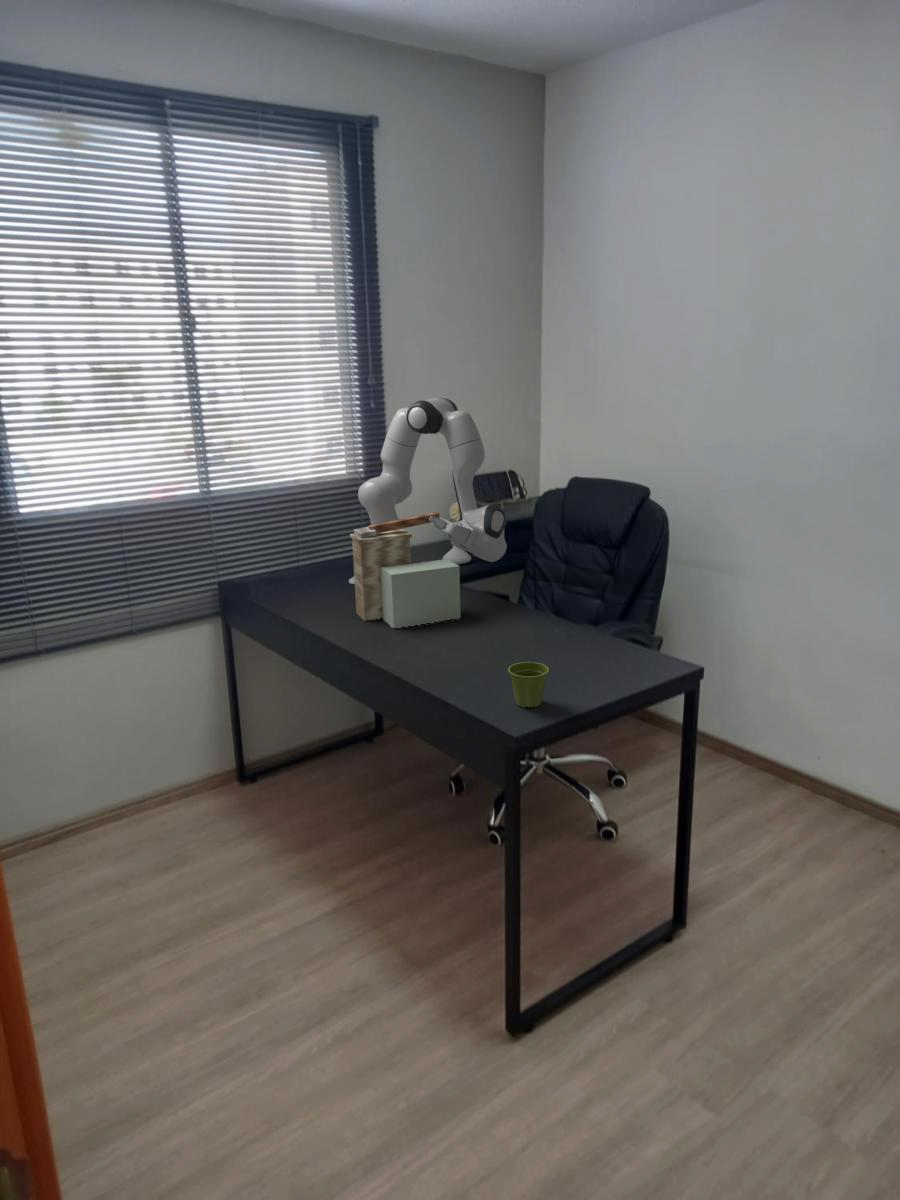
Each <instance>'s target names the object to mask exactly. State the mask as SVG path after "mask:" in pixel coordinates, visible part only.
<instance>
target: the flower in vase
mask: <svg viewBox="0 0 900 1200" xmlns="http://www.w3.org/2000/svg"><path fill="white" fill-rule="evenodd" d="M449 517H450V519H449V521H450V522H452V523H455V522H457V521H458V522H459V521H460V512H459V506H458V502H457V501H456V502H453V503H452V505H450V508H449ZM451 519H452V520H453V521H452V520H451ZM454 520H455V521H454ZM444 559H448V560H449V561H451V562H453V563H455V564H457V565H463V564H467V563H469V562H471V560H472V557H471V555H470V554H469V553H468V552H467V551H464V550H462V549H460V548H458V547H456V546H454V545H452V548H451V549H450V550H449V551H448V552H446V553H445V554H444V555H443V557H442V559H441V560H444Z"/></svg>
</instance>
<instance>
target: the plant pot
mask: <svg viewBox="0 0 900 1200" xmlns="http://www.w3.org/2000/svg"><path fill="white" fill-rule="evenodd" d="M507 671H508V673H509V675H510V678H511V682H512V688H513V693H514V699H515V704H516V706H518V705H519V706H518V707H520V706H521V707H520V708H523V707H528V708H533V707H535V708H538V707H540V706H541V705H542V703H543V698H544V697H543V695H544V689H545V683H546V682H545V681H546V678H547V675H548V674H549V671H550V669H549V667H548V666H547V665H546V664H544V663H540V662H534V661H533V662H532V661H524V662H517V663H514V664H511V665H510V666H509V667H508V669H507ZM539 705H540V706H539ZM537 706H538V707H537Z"/></svg>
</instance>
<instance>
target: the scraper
mask: <svg viewBox="0 0 900 1200" xmlns="http://www.w3.org/2000/svg"><path fill="white" fill-rule="evenodd" d="M430 515H431V516H433V517H435V518H438V519H440V517H441V516H440V513H439V512H437V511H435V512H431V513H427V514H420V515H414V516H410V517H409V516H408V517H404V518H399V520H394V521H389V522H384V523H379V524H374V525H371V524H370V525H367V526H365V527H360V528H355V529H353V532H354V533H353V534H355V535H356V536H358V537H359V538H361V539H362V538H367V537H372V536H377V533H382V532H387V531H392V530H397V529H402V528H403V529H406V528H410V527H416V526H421V525H422V526H423V525H425V524H426V525H427V524H428V523H432V522H430V521H429V520H428V518H429V516H430Z"/></svg>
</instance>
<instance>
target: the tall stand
mask: <svg viewBox="0 0 900 1200" xmlns="http://www.w3.org/2000/svg"><path fill="white" fill-rule="evenodd" d="M349 537H350V538H351V539H352V540H351V544H352V558H353V559H352V561H353V577H354V579H355V584H354V594H355V595H354V596H355V611H356V615H357V616H358V617H360V618H361V620H363V622H368V621H369V620H370V621H374V620H375V621H377V620H381V619H380V618H383V606H382V586H381V567H387V566H395V565H404V564H412V557H411V556H412V553H411V549H412V548H411V538H413V534H412V533H410V532H409V531H407V530H405V529H404V528H403V529H397V530H392V531H387V532H382V533H377V536H372V537H367V538H362V539H361V538H359V537H358V536H356V535H355V534H354V533H350V534H349ZM376 619H377V620H376ZM370 621H369V622H370Z"/></svg>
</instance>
